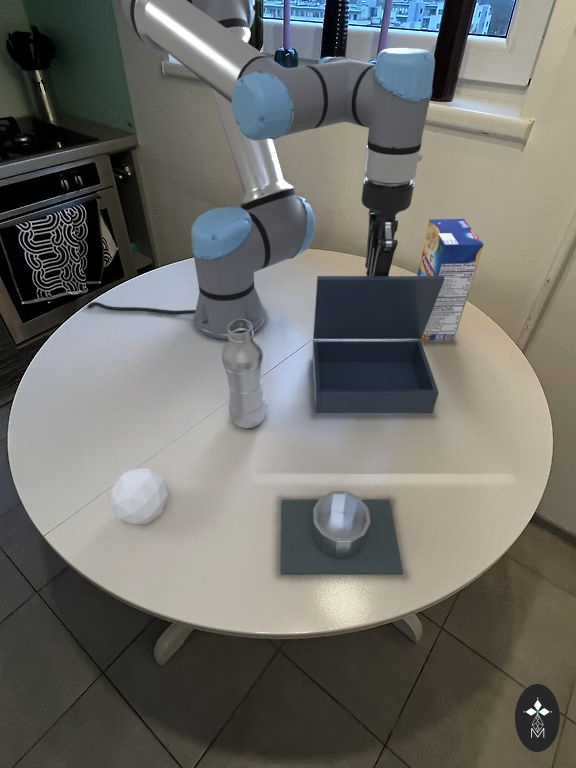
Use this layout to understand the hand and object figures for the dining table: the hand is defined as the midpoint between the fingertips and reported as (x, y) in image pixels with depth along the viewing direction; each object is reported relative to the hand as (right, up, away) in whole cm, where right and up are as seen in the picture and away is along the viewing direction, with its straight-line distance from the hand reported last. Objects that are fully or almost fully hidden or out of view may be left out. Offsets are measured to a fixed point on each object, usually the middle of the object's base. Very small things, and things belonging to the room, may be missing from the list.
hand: (370, 311), depth 83 cm
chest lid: (0, -1, -4) cm, 4 cm away
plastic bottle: (-22, -20, -4) cm, 30 cm away
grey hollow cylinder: (-8, -34, -21) cm, 41 cm away
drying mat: (-8, -35, -20) cm, 41 cm away
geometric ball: (-36, -32, -17) cm, 51 cm away
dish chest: (0, -14, +2) cm, 14 cm away
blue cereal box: (+16, -1, +16) cm, 22 cm away
